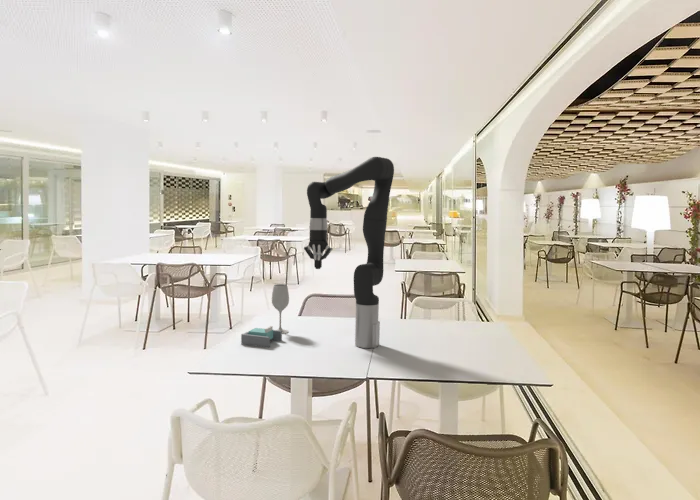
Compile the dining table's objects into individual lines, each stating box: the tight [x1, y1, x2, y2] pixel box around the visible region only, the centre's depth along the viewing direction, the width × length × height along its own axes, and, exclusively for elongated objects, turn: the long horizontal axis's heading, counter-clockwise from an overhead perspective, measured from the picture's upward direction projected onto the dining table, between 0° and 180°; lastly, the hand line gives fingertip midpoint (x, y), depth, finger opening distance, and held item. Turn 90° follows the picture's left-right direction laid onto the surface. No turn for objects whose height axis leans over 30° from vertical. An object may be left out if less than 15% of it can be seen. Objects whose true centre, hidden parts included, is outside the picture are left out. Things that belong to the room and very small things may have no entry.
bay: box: [240, 329, 283, 348], centre depth 198 cm, size 12×12×4 cm
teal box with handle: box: [248, 325, 274, 344], centre depth 198 cm, size 8×6×6 cm
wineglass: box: [271, 283, 290, 335], centre depth 214 cm, size 8×8×21 cm
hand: (317, 268), depth 209 cm, fingers closed
